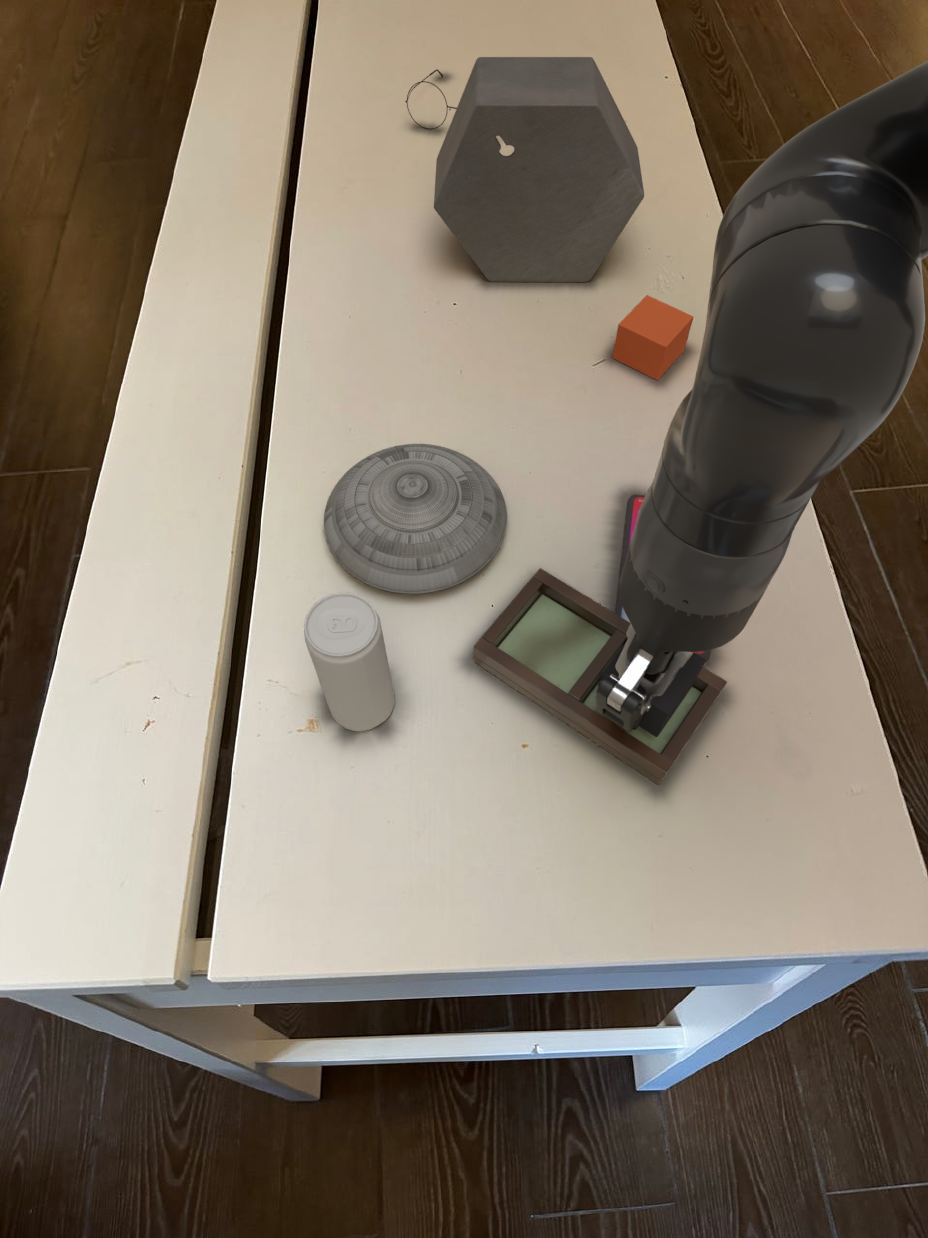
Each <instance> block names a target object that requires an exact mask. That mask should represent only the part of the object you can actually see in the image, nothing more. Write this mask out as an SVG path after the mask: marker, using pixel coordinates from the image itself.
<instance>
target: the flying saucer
mask: <svg viewBox="0 0 928 1238" xmlns="http://www.w3.org/2000/svg"><path fill="white" fill-rule="evenodd" d="M507 524H508V509H507V505H506V500H505V497H504V495H503V492H502V489H501V488H500V486H499V484H498V483H497V481H496V480H495V479H494V477H493V476H492V475H491V474H490V472H488V471H487V469H485V468H484V467H483V466H482V465H481V464H479V463H478V462H477V461H475V460H474V459H472V458H470V457H469V456H467V455H465V454H463V453H461V452H459V451H456V450H454V449H451V448H448V447H445V446H441V445H435V444H428V443H406V444H400V445H394V446H390V447H387V448H383V449H381V450H379V451H376V452H373V453H371V454H370V455H368V456H366V457H364V458H363V459H361V460H359V461H358V462H356V463H355V464H354V465H352V466H351V467H350V469H348V470H347V471H346V472H345V473H344V474H343V475H342V476H341V478H340V479H339V480H338V481H337V483H336V484H335V485H334V487H333V489H332V490H331V492H330V494H329V496H328V499H327V501H326V504H325V508H324V514H323V532H324V536H325V541H326V544H327V546H328V548H329V550H330V552H331V554H332V555H333V557H334V558H335V560H336V561H337V563H339V565H340V566H341V567H342V568H343V569H344V570H345V571H346V572H348V573H349V574H350V575H352V577H354V578H356V579H357V580H359V581H360V582H363V583H365V584H366V585H369V586H371V587H373V588H376V589H379V590H382V591H386V592H391V593H397V594H410V595H411V594H413V595H414V594H415V595H416V594H426V593H427V594H428V593H433V592H438V591H443V590H445V589H449V588H451V587H454V586H456V585H459V584H461V583H463V582H465V581H467V580H468V579H470V578H471V577H473V576H475V575H476V574H477V573H478V572H480V571H481V570H482V569H483V568H485V567H486V566H487V564H489V562H490V561H492V559H493V558H494V556H495V555H496V553H497V552H498V550H499V548H500V547H501V544H502V542H503V540H504V538H505V534H506V530H507Z"/></svg>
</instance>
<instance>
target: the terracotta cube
mask: <svg viewBox="0 0 928 1238" xmlns="http://www.w3.org/2000/svg"><path fill="white" fill-rule="evenodd" d="M694 317H695V316H693V315H692V314H689V313H687V312H685V311H683V310H680V309H678V308H676V307H674V306H672V305H669V304H668V303H665V302H663V301H661V300H659V299H657V298H654V297H653V296H651V295H648V294H647V295H645V296H644V297H643V298H642V299H641V300H640V302H638V303H637V305H635V306H634V307H633V309H631V311H629V313H628V314H627V315H626V316H625V317H623V319H622V320H621V321H620V322H619V323H618V327H617V330H616V336H615V341H614V347H613V352H612V356H611V357H612V359H614V360H615V361H618V362H619V363H622V364H624V365H626V366H627V367H629V368H632V369H634V370H636V371H638V372H640V373H642V374H644V375H646V376H648V377H650V378H652V379H653V380H656V381H658V380H660V379H661V377H662V376H663V375H664V374H665V373H666V372H667V370H668V369H670V367H671V366H672V365H673V364H674V363H675V361H677V359H678V358H679V357H680V356H681V355H682V354H683V352H684V351H685V350H686V346H687V343H688V338H689V335H690V331H691V328H692V325H693V321H694Z"/></svg>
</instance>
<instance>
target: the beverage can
mask: <svg viewBox="0 0 928 1238" xmlns="http://www.w3.org/2000/svg"><path fill="white" fill-rule="evenodd" d="M304 618H305V619H304V623H303V637H304V643H305V645H306V648H307V650H308V654H309V656H310V660H311V662H312V665H313V667H314V670H315V673H316V677H317V678H318V681H319V684H320V687H321V690H322V692H323V695H324V698H325V701H326V704H327V706H328V709H329V712H330V715H331V716H332V719H333V720H334V721H335V722H336V723H337V724H338V725H339V726H341V727H343V728H344V729H346V730H349V731H352V732H365V731H368V730H369V731H370V730H372V729H374V728H376V727H378V726H380V725H381V724H383V723H384V722H385V721H386V720H387V719H388V718H389V717H390V716H391V715H392V713H393V710H394V707H395V701H396V696H395V692H394V686H393V680H392V676H391V675H392V674H391V670H390V665H389V661H388V659H389V658H388V654H387V650H386V649H387V648H386V643H385V637H384V633H383V628H382V627H383V626H382V622H381V618H380V616H379V614H378V612H377V610H376V609H375V607H374V605H373V604H372V603H371V602H370V601H369V600H368V599H367V598H365V597H364V596H362V595H360V594H357V593H354V592H345V591H341V592H334V593H330V594H327V595H325V596H323V597H322V598H320V599H318V600H317V601H315V603H314V604H313V605H312V606H311V607H310V608H309V610H308V611H307V614H306V615H305V617H304Z"/></svg>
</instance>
